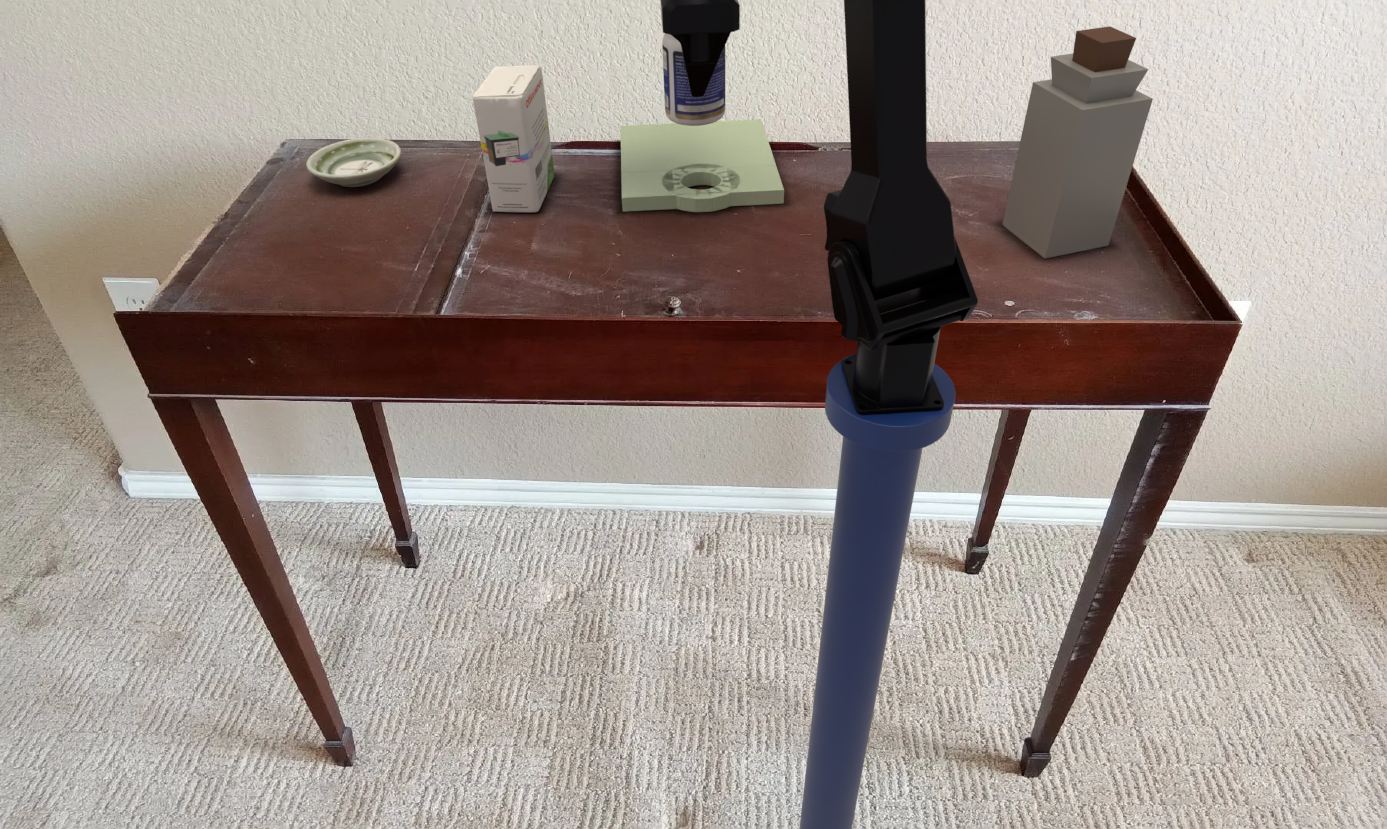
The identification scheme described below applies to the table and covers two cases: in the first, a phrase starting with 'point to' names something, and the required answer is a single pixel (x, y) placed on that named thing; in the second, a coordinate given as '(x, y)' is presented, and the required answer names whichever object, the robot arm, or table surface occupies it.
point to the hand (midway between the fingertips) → (695, 84)
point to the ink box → (515, 137)
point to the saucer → (354, 161)
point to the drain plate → (698, 166)
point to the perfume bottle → (1078, 146)
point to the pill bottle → (678, 92)
